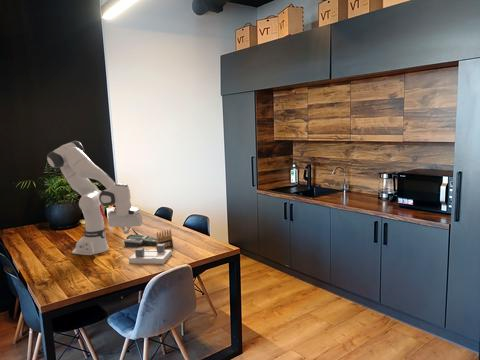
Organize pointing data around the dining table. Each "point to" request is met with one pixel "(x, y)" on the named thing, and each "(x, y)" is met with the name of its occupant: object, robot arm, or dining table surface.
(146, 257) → the switch panel
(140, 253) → the tab near
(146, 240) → the communication device
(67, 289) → the dining table surface
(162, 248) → the tab far
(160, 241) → the ammunition clip
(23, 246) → the dining table surface
